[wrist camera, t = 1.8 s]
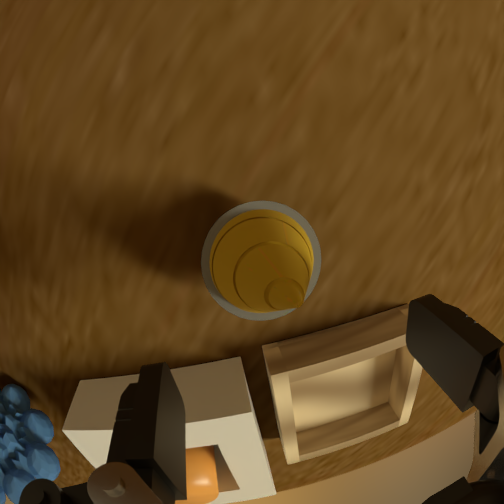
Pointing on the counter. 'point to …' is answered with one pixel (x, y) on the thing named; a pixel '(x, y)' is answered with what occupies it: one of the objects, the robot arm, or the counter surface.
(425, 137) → the counter surface
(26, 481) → the grapes
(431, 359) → the robot arm
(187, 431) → the frame
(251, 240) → the drill bit
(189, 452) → the button
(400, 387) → the tray
